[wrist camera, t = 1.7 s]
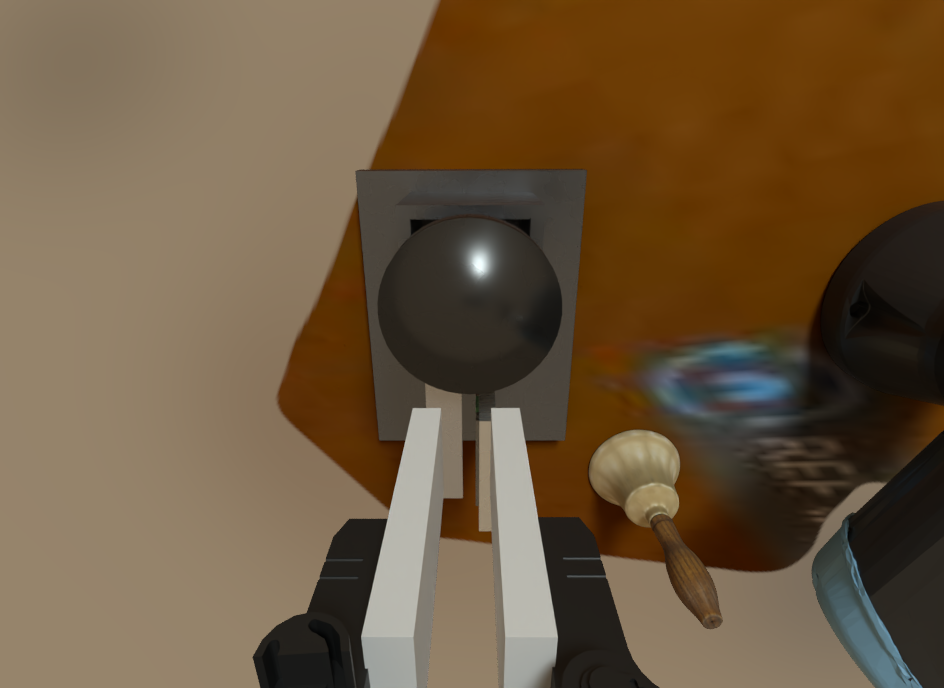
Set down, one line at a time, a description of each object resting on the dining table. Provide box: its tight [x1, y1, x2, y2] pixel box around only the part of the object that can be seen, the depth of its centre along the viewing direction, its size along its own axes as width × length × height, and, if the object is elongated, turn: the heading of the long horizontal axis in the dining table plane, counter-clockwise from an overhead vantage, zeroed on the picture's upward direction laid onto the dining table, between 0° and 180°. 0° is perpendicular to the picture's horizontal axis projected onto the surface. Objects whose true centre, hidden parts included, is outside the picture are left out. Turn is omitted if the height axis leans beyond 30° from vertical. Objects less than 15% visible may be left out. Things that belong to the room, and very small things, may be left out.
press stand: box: [356, 169, 587, 531], centre depth 34 cm, size 16×22×14 cm
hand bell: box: [589, 430, 723, 629], centre depth 38 cm, size 8×8×16 cm
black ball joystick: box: [377, 214, 562, 498], centre depth 30 cm, size 9×17×9 cm, turn 0°
